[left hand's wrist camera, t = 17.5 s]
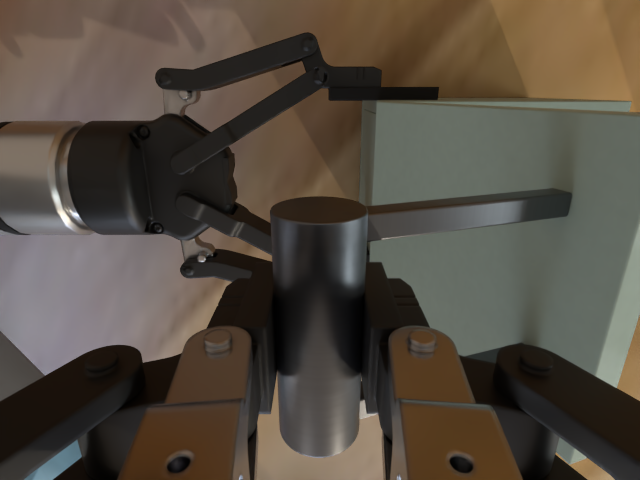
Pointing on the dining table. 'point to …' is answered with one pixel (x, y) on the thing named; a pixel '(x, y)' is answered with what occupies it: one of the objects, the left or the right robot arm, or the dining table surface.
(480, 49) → the dining table surface
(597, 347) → the lid
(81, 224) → the right robot arm
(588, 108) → the chest
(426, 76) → the dining table surface
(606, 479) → the dining table surface
